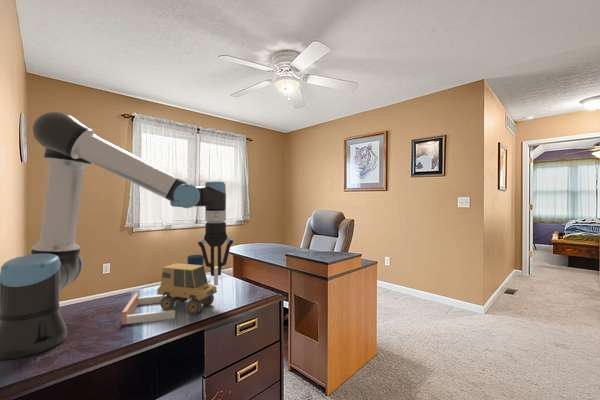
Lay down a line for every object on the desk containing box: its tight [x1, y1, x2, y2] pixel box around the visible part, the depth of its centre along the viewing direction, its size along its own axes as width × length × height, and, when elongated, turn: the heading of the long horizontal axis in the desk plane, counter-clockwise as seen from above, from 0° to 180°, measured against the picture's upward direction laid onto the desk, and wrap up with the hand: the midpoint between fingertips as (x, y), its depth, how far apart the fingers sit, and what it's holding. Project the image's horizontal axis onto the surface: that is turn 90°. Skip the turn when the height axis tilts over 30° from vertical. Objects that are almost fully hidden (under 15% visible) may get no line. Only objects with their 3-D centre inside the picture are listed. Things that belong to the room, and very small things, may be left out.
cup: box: [186, 254, 205, 266], centre depth 122 cm, size 7×7×15 cm
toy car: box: [156, 262, 218, 315], centre depth 103 cm, size 10×19×15 cm, turn 75°
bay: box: [121, 292, 178, 325], centre depth 99 cm, size 15×18×4 cm
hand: (215, 284), depth 106 cm, fingers closed
